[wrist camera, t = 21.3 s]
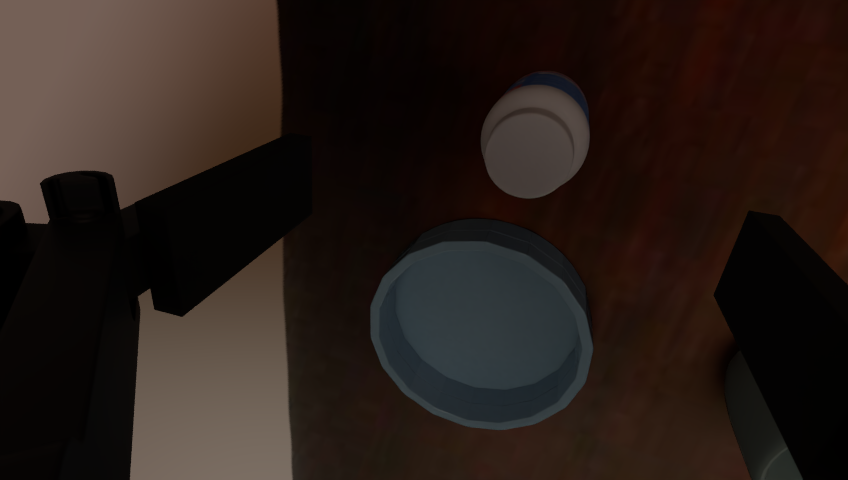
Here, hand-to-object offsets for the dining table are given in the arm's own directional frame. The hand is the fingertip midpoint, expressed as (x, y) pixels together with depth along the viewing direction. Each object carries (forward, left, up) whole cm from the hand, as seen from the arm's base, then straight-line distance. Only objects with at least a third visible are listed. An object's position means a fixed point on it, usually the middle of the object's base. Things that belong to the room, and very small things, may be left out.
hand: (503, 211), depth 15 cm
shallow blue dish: (+8, -13, -18) cm, 24 cm away
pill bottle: (0, 0, -18) cm, 18 cm away
